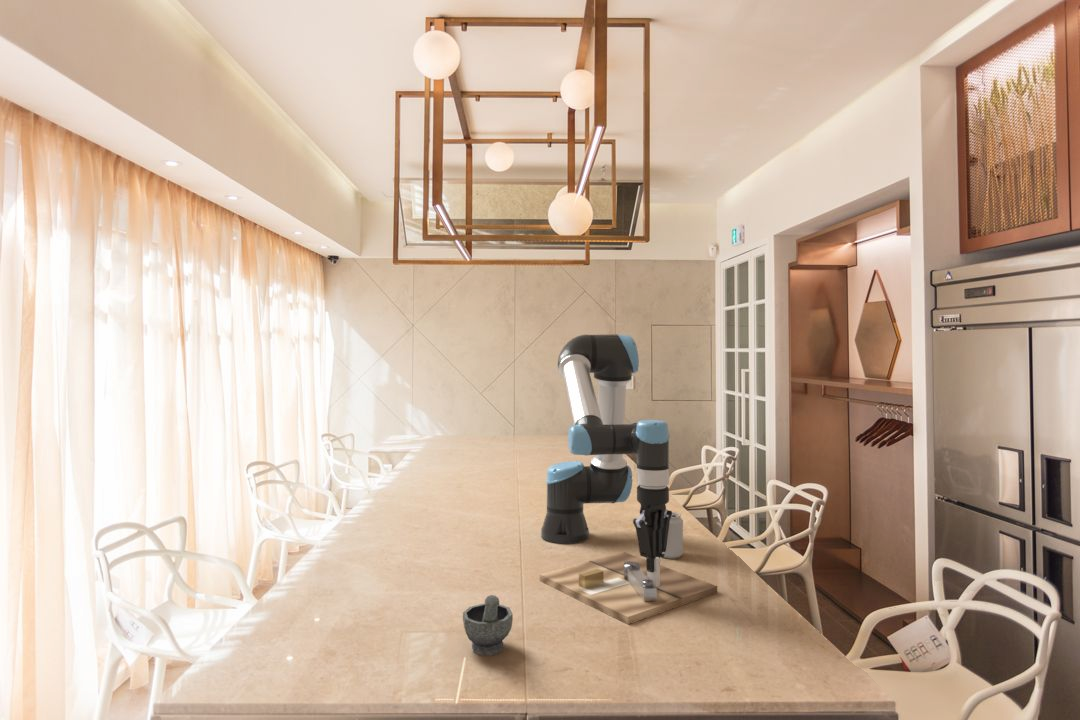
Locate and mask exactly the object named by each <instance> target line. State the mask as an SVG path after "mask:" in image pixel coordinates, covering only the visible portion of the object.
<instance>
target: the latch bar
mask: <svg viewBox="0 0 1080 720" xmlns="http://www.w3.org/2000/svg"><path fill="white" fill-rule="evenodd" d="M624 579H626V580H628V581H629V582H630V584H631V585H632V586H633V588H634V589H635V590H636V592H637V593H638V594H639V596H640V597H641V598H642V599H643V601H657V588H656V587H655V586H654V585H653V581H652V580H649V579H648V578H647V576H646V575H645V574H644V573H643V572H642V571H641V569H640V564H639V563H638V562H633V561H629V562H625V563H624Z"/></svg>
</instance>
